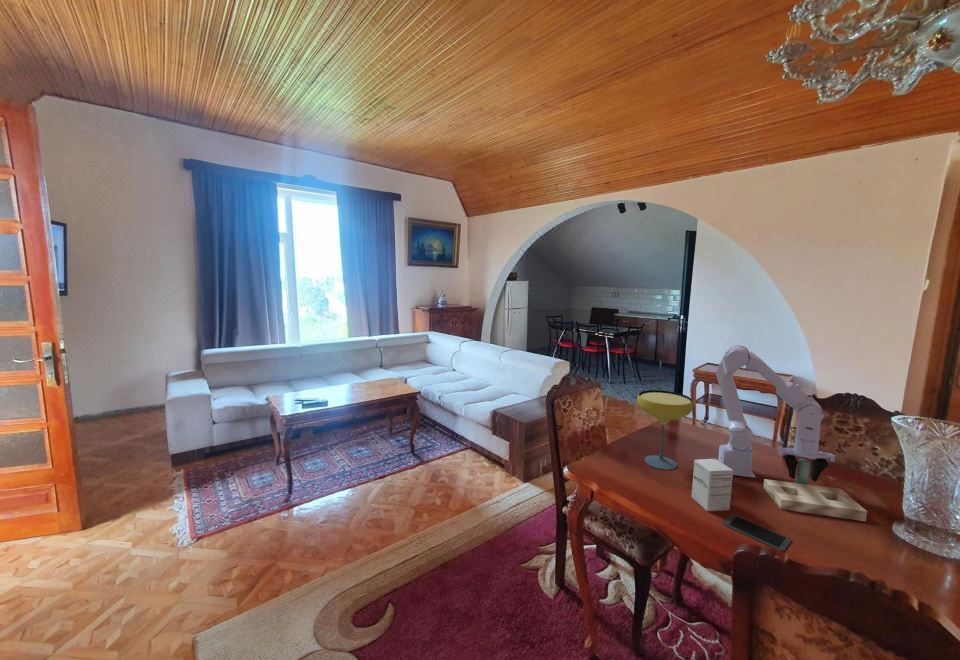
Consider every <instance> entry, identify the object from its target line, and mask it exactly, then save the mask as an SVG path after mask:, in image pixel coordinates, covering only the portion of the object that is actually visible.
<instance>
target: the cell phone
mask: <svg viewBox="0 0 960 660" xmlns="http://www.w3.org/2000/svg"><path fill="white" fill-rule="evenodd" d="M721 524H722V525H723V526H725V527H727V528H728V529H730V530H733V531H735V532H737V533H740V534H742V535H744V536H746V537H748V538H750V539H752V540H754V541H757V542H759V543H761V544H762V545H765V546H767V547H770V548H772V549H774V548H775V549H774V550H776V549H778V550H781V551H783V552H786V550H787V549H789V546H790V545H791V544H792V541H793V540H792V539H791V538H790V537H788V536H785V535H783V534H782V533H779V532H777V531H774V530H771V529H769V528H767V527H765V526H762V525H761V524H758V523H756V522H754V521H751V520H748V519H746V518H743V517H742V516H740V515H737V514H735V513H732V514H730V515H729V516H728V517H726V518H725V519H724V520H723V521H722V523H721ZM778 550H777V551H778ZM781 551H780V552H781ZM783 552H782V553H783Z"/></svg>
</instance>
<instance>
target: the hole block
mask: <svg viewBox="0 0 960 660" xmlns="http://www.w3.org/2000/svg"><path fill="white" fill-rule="evenodd" d="M762 488H763V489H764V490H765V492H766V493H767V494H768V496H769V497H770V498H771V499H772V501H774V504H776V505H777V507H778V508H779V509H780V510H785V511H791V512H798V513H805V514H812V515H813V514H814V515H819V516H827V517H833V518H841V519H846V520H854V521H860V522H866V521H867V515H868V510H866V509H865V508H864V507H863V506H861V505H860V504H859V503H858V502H857V501H856V500H854V499H853V498H852V497H851V496H850V495H849V494H848V493H846V492H845V491H844V490H843V489H841V488H837V487H830V486H821V485H816V484H815V485H814V484H808V485H807V484H799V483H796V482H792V481H791V482H789V481H782V480H775V479H768V478H767V479H766V478H764V479H763V487H762Z"/></svg>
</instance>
